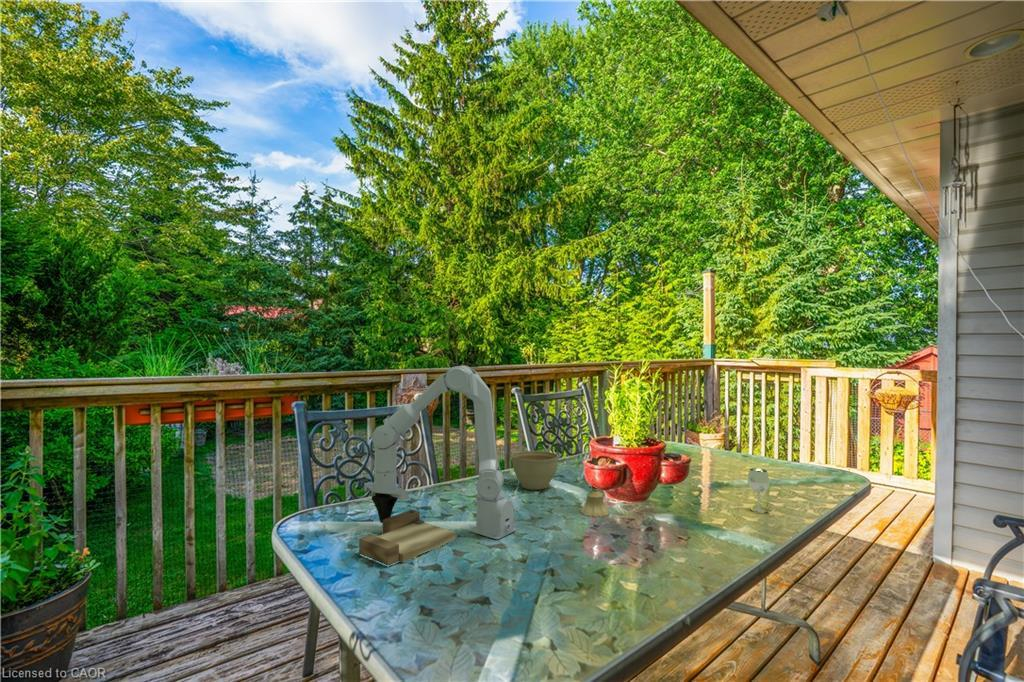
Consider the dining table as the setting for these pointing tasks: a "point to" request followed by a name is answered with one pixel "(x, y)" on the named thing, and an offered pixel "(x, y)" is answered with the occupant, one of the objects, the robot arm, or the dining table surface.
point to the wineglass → (758, 483)
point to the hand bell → (594, 501)
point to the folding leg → (400, 520)
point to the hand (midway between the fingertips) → (384, 521)
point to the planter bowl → (534, 468)
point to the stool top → (405, 542)
